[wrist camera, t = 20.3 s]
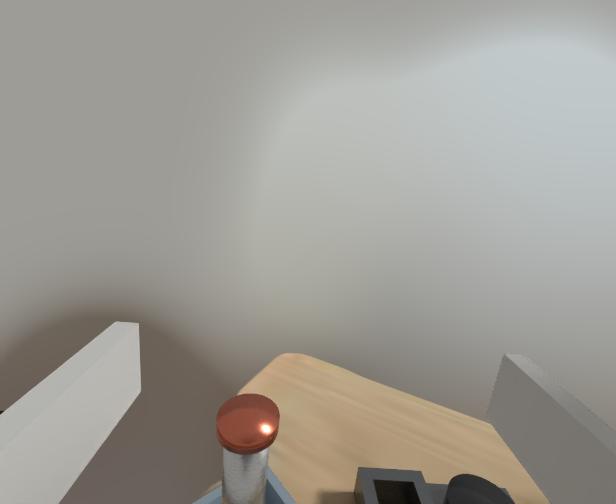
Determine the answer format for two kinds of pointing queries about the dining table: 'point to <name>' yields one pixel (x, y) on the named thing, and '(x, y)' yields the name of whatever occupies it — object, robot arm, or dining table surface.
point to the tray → (275, 493)
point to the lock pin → (246, 446)
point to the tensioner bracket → (424, 489)
